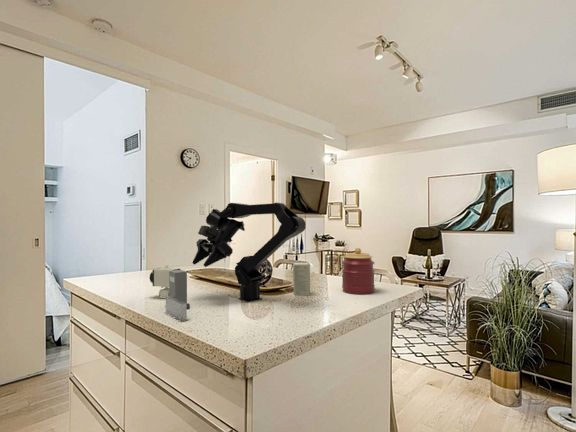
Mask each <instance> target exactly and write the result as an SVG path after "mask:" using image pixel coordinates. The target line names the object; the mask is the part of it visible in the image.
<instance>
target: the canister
mask: <svg viewBox="0 0 576 432" xmlns="http://www.w3.org/2000/svg"><path fill="white" fill-rule="evenodd" d="M343 258H344V259H343V260H342V261H341V264H342V267H343V268H342V270H341V272H342V273H341V274H342V284H341V287H342V291H343V292H344V293H347V294H354V295H369V294H373V293H374V292H375V289H376V288H375V286H376V285H375V270H374V265H375V262H374V261H373V259H372V258H373V256H372V255H370V254H369V253H366V252H362V250H361V248H360V247H356V248H355V249H354V252H348V253H347V254H345V255H343Z"/></svg>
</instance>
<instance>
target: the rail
mask: <svg viewBox="0 0 576 432" xmlns="http://www.w3.org/2000/svg"><path fill="white" fill-rule="evenodd" d="M190 309H191V303H189V302H187V304H186V303H184V302H182V301H180V300H178V299H176V297H172V296H166V299H165V313H167V314H168V315H169V316H170V317H172V318H174V319H176V320H178V321H180V322H187V321H188V319H187V315H188V314H187V310H190Z"/></svg>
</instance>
